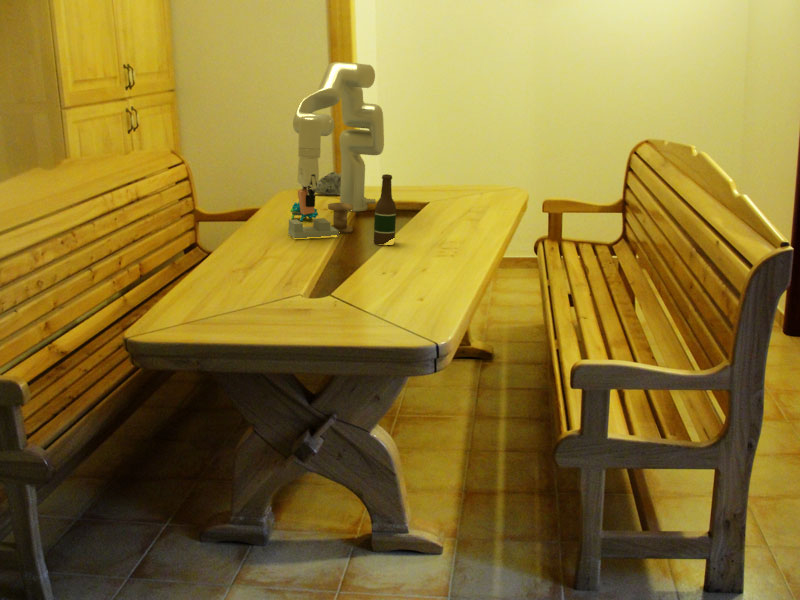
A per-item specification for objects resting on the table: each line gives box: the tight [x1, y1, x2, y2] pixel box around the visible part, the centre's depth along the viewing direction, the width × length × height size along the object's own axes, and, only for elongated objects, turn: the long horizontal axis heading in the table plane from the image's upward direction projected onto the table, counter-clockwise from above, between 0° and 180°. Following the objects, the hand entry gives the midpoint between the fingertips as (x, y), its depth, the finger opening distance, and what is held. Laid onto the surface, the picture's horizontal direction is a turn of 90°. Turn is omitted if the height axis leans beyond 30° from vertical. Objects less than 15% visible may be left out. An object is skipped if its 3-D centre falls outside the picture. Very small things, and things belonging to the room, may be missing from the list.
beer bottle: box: [373, 174, 397, 245], centre depth 336 cm, size 8×8×24 cm
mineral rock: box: [315, 171, 341, 196], centre depth 416 cm, size 13×11×10 cm
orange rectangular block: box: [297, 188, 315, 215], centre depth 340 cm, size 4×4×8 cm
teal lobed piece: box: [290, 201, 319, 222], centre depth 367 cm, size 11×6×10 cm
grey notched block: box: [287, 217, 340, 239], centre depth 344 cm, size 16×8×6 cm, turn 112°
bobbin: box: [327, 202, 353, 235], centre depth 354 cm, size 9×9×9 cm
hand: (308, 204), depth 341 cm, fingers closed on orange rectangular block, 4 cm apart
